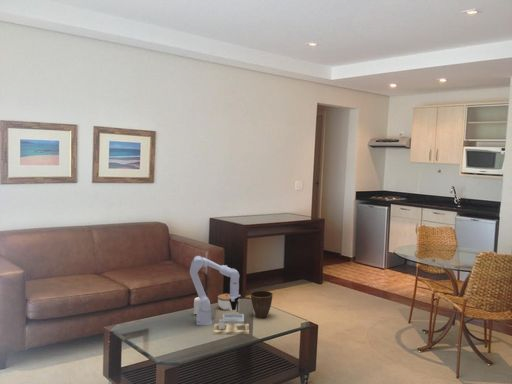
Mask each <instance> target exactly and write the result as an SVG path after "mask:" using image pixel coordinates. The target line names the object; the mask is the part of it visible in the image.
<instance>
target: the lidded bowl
mask: <svg viewBox="0 0 512 384" xmlns="http://www.w3.org/2000/svg"><path fill="white" fill-rule="evenodd" d="M229 299H231V298H230V293H226V292H225V293H222V294H219V295H217V304H218V306H219V308H220V309H221V310H222V309H223V310H222V311H229V303H230V301H229Z"/></svg>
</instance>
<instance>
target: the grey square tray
mask: <svg viewBox="0 0 512 384" xmlns="http://www.w3.org/2000/svg"><path fill="white" fill-rule="evenodd" d="M222 319H225V324H245V314H244V313H223V314H222Z"/></svg>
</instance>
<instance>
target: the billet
mask: <svg viewBox="0 0 512 384" xmlns="http://www.w3.org/2000/svg"><path fill="white" fill-rule="evenodd" d="M218 324H219V327H218V330H226V327H225V319H223V318H218Z"/></svg>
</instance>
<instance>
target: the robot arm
mask: <svg viewBox="0 0 512 384" xmlns="http://www.w3.org/2000/svg"><path fill="white" fill-rule="evenodd" d="M202 267H204V268H206V267H210V268H212V269H214V270H217V271H219V274H221V275H223V276H226V277H228V278H230V281H229V294H230V298H231V299H229V301H230V303H231V307H232V310H235V309H236V304H237V301H239V299H240V297H242V295H241V294H240V291H239V290H240V277H241V276H240V273H239V271H238V270H237V269H236V268H233V267H232V268H231V267H228V265H227V264H225V265H224V264H222V265H220V264H218V263H216V262H214V261H212V260H210V259H209V258H206V257H203V256H201V255H195V256H194V258H192V261H191V264H190V268H189V275H190V277H191V280H192V283H193V285H194V288H195V291H196V293H197V296H198V297H199V299H200V302H201V308H200V310H197V315H196V320H195V321H196V326H203V325H204V326H206V325H207V326H209V325H210V326H211V325H212V324H213V323H212V322H213V320H212V306H211V301H210V299H209V297H208V296H207V295H206V292H205V289H204V286H203V285H202V281H201V279H200V275H199V273H198V272H199V271H200V269H202Z"/></svg>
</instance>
